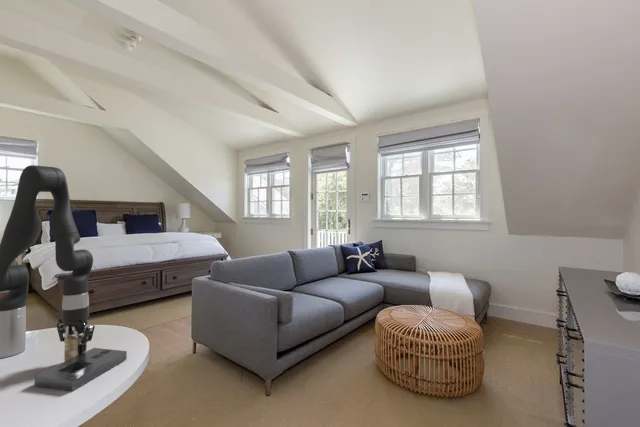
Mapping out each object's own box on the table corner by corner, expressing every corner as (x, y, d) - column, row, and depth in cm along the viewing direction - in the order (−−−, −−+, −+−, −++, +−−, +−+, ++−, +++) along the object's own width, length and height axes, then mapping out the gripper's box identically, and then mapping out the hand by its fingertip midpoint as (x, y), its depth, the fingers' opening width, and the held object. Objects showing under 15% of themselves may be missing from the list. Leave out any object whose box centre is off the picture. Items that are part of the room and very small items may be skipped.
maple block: (64, 364, 105) (64, 338, 105) (76, 358, 110) (76, 333, 110) (74, 365, 105) (75, 339, 105) (86, 359, 109) (86, 334, 109)
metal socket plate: (34, 385, 92) (34, 375, 92) (94, 355, 112) (94, 347, 112) (72, 391, 90) (72, 380, 90) (126, 359, 109) (126, 350, 109)
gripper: (48, 308, 105) (48, 356, 105) (82, 310, 102) (82, 360, 102) (69, 302, 112) (69, 347, 112) (102, 303, 110) (102, 350, 110)
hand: (75, 353), depth 107 cm, fingers closed on maple block, 4 cm apart
